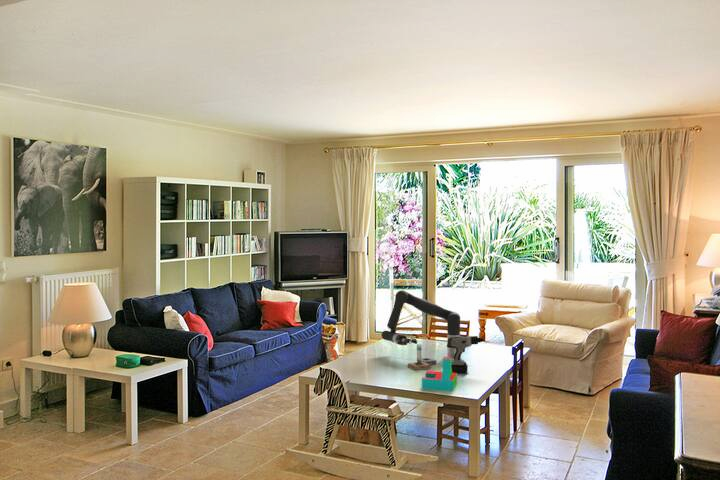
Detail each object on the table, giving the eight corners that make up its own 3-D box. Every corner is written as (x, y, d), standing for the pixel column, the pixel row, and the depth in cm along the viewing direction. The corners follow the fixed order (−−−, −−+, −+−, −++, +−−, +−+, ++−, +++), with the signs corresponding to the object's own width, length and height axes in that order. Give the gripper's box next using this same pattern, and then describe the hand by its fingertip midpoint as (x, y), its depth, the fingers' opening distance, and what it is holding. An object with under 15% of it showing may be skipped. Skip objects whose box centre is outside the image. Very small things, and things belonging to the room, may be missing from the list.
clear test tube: (419, 366, 425) (420, 343, 424) (422, 367, 422) (422, 344, 421) (415, 367, 423) (415, 344, 423) (418, 368, 420) (418, 345, 420)
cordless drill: (483, 375, 403) (483, 337, 402) (446, 372, 408) (446, 335, 407) (483, 372, 411) (483, 335, 410) (446, 370, 416) (447, 333, 415)
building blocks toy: (457, 381, 389) (458, 352, 389) (452, 391, 365) (453, 361, 365) (428, 378, 394) (428, 350, 394) (421, 389, 370) (422, 359, 370)
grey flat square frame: (428, 360, 443) (428, 357, 443) (436, 363, 434) (436, 360, 434) (416, 362, 438) (416, 358, 438) (424, 365, 429) (424, 361, 429)
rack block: (422, 365, 430) (422, 361, 430) (430, 368, 421) (430, 364, 421) (408, 366, 424) (408, 363, 424) (415, 370, 415) (415, 366, 415)
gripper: (391, 335, 443) (403, 338, 429) (407, 333, 450) (420, 336, 436) (391, 345, 444) (403, 349, 429) (408, 343, 450) (420, 347, 436)
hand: (411, 343), depth 432 cm, fingers open, 8 cm apart
